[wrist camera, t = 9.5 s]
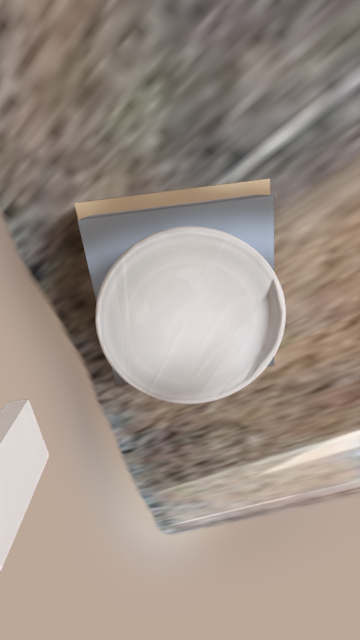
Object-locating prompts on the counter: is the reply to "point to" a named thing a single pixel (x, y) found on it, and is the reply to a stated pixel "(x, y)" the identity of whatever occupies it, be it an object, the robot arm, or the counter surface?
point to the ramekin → (190, 315)
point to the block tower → (175, 222)
